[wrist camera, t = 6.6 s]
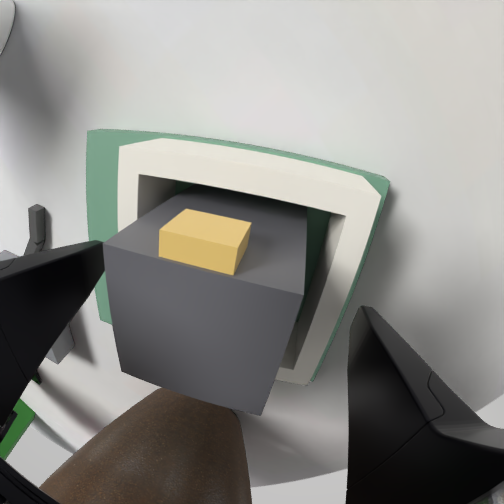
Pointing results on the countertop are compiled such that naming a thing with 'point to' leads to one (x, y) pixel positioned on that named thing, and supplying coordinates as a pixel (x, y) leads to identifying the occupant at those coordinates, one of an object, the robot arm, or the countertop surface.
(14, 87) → the countertop surface
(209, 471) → the plant pot
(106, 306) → the board
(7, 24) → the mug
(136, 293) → the plug
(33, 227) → the gray button block
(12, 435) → the cereal box
